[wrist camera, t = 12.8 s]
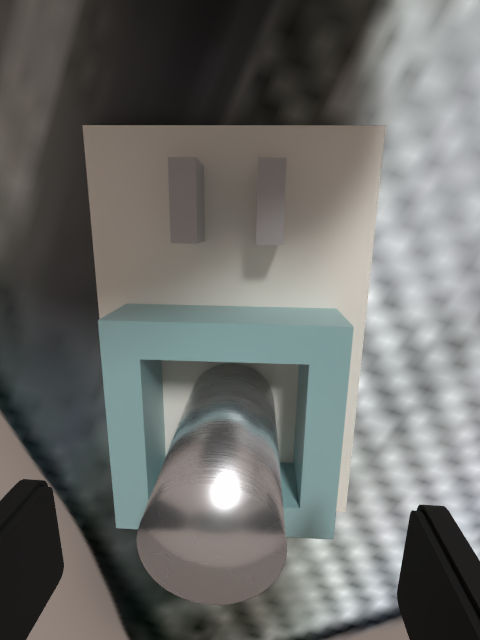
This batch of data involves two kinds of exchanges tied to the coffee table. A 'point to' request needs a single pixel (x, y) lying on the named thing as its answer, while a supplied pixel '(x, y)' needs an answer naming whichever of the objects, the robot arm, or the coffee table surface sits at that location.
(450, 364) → the coffee table surface
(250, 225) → the end holder
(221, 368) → the shiny grey cylinder
